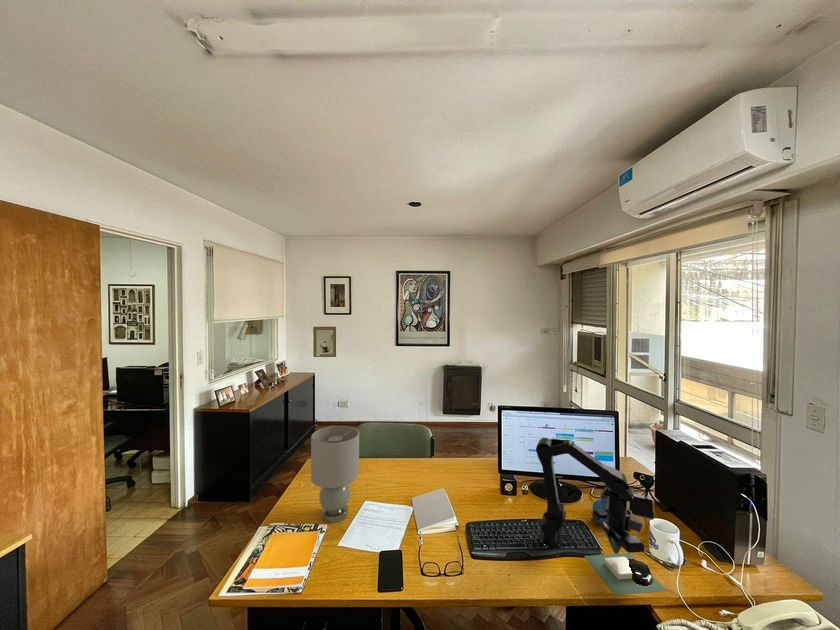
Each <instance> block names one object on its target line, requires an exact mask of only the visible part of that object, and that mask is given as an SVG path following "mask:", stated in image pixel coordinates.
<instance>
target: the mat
mask: <svg viewBox="0 0 840 630" xmlns="http://www.w3.org/2000/svg"><path fill="white" fill-rule="evenodd" d="M583 556H584V558H585V560H586V561H587V562H588V563H589V564H590V566H591V567H592V568H593V569H594V571H595V572H596V573H597V574H598V576H599V577H600V579H602V581H603V582H604V583H605V584H606V586H607V587H608V588H609V589H610V590H611V592H612V594H614V596H619V595H620V596H621V595H632V594H643V593H654V592H657V593H658V592H667V591H668V590H667V589H666V588H665V587H664V586H663V585H662V584H661V582H659V581H658V580H657V579H656V577H654V576H653V583H652V584H651V585H648V586H642V585H639V584H636V583H635V582H634V581H633V580H632V579H620V580H618V579H617V578H616V576H615V575H614V574H613V573H612V572H611V571H610V569H609V568H608V567H607V566H606V565H605V564H604V558H612V557H626V558H627V559H636V558H635V557H634V556H633V555H632V553H629V552H625V553H624V552H623V553H618V554H615V553H611V554H610V553H609V554H595V555H583Z"/></svg>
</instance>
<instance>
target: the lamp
mask: <svg viewBox="0 0 840 630" xmlns="http://www.w3.org/2000/svg"><path fill="white" fill-rule="evenodd" d="M310 438H311V439H310V452H311V453H310V462H311V463H310V471H311V472H310V481H311V482H312V484H313V485H315V486H316V487H319V488H320V491H319V496H318V497H319V503H320V505H321V507H322V508H321V519H322V520H323V522H325V523H328V524H336V523H338V522H342V521H343V520H345V519H346V517H347V516H348V511H349V510H348V508H349V507H348V502H349V500H350V497H351V488H350V485H349V484H351V483H353V482H354V481H356V479H358V478H359V471H360V470H359V466H360V431H359V430H358V429H357V428H355V427H354V426H353V427H352V426H348V425H332V426H325V427H322V428H320V429H319V428H318V429H317V430H316V431H314V432H313V433H312V434H311V437H310Z"/></svg>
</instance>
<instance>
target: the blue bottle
mask: <svg viewBox="0 0 840 630" xmlns="http://www.w3.org/2000/svg"><path fill="white" fill-rule="evenodd" d="M605 508H608V496H605V495H603V494H602V491H601V492H600V495H599V499H596V500H595V501H594V502H593V504H592V512H593V511H594V510H597V509H605ZM592 519H593V520H594V521H595V522H597V524H600V525H601V526H602V527H604V520H603V519H602V518H600V521H596V520H595V519H594V518H593V517H592Z"/></svg>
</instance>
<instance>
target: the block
mask: <svg viewBox="0 0 840 630" xmlns="http://www.w3.org/2000/svg"><path fill="white" fill-rule="evenodd" d="M604 564H605V565H606V566H607V567H608V568H609V569H610V571H611V572H612V573H613V574H614V575H615V576H616V578H617V579H618V580H620V579H632V574H633V573H632V571H631V568H630V567H629V560H628V559H627V558H626V557H612V558H604Z"/></svg>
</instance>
